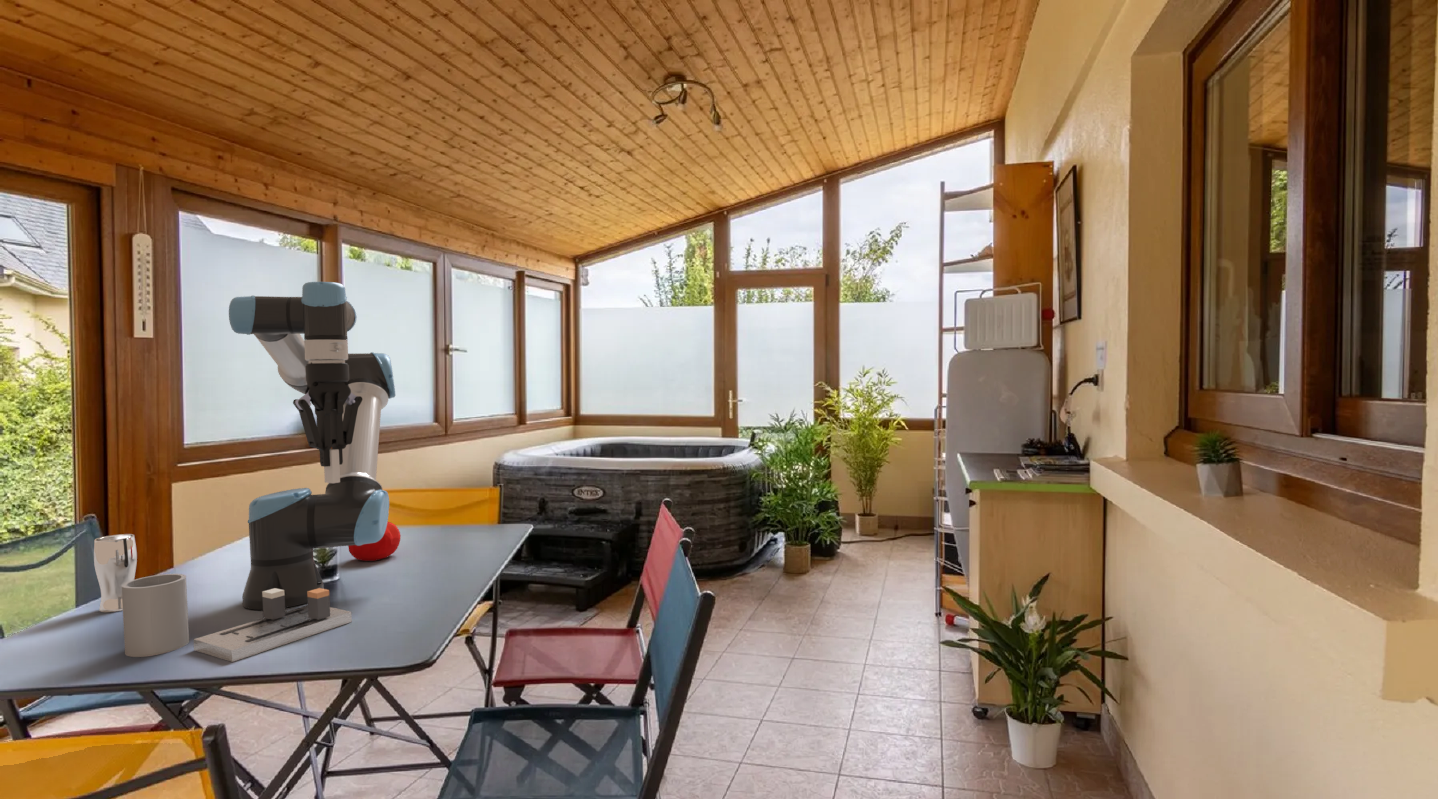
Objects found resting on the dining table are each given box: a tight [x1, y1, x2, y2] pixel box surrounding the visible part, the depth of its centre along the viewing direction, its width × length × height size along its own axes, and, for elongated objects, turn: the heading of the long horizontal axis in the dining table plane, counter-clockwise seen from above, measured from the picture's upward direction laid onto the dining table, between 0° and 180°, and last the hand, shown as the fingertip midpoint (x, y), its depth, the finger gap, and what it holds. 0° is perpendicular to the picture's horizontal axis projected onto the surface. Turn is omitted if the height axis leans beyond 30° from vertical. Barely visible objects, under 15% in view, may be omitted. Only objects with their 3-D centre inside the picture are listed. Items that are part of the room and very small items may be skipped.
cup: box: [122, 573, 190, 658], centre depth 132 cm, size 9×9×12 cm
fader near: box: [307, 588, 331, 620], centre depth 140 cm, size 3×2×5 cm
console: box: [193, 604, 353, 663], centre depth 137 cm, size 12×22×2 cm, turn 151°
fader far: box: [262, 588, 286, 620], centre depth 141 cm, size 3×2×5 cm
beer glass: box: [93, 533, 138, 613], centre depth 155 cm, size 7×7×15 cm
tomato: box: [347, 521, 402, 562], centre depth 194 cm, size 11×13×10 cm
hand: (332, 482), depth 145 cm, fingers closed
